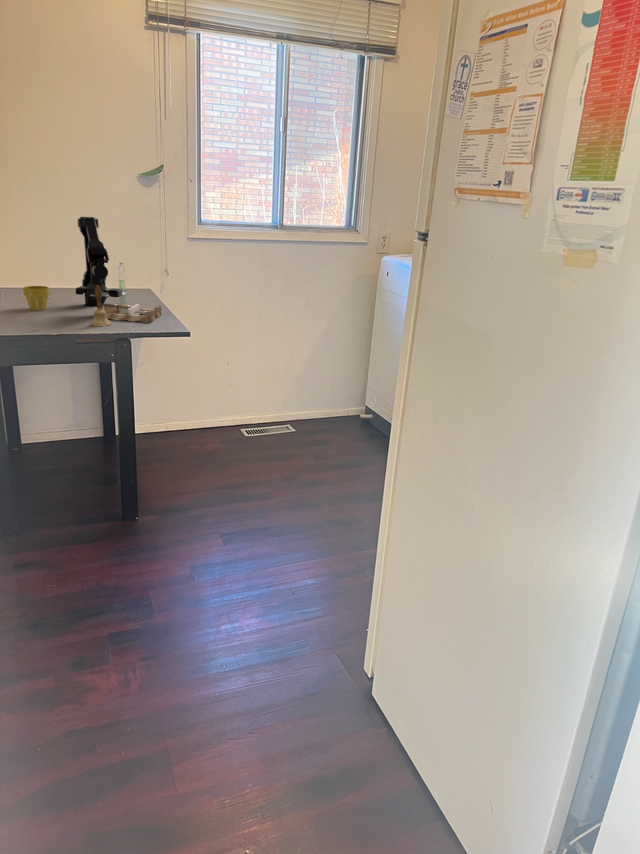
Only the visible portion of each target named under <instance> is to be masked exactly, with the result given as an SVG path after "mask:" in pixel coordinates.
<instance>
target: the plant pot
mask: <svg viewBox="0 0 640 854" xmlns="http://www.w3.org/2000/svg"><path fill="white" fill-rule="evenodd" d="M22 289H23V290H22V291H23V296H25V297H26V301H27V304H28V307H29V309H30V310H31V311H37V310H39V311H46V310H47V307H48V296H50V289H49V286H46V285H27V286H26V285H25V286H23V288H22Z"/></svg>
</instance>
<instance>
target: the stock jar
mask: <svg viewBox="0 0 640 854" xmlns="http://www.w3.org/2000/svg"><path fill="white" fill-rule="evenodd" d="M118 304H119V303H118ZM133 306H134V305H133V304H130V303H120V304H119V305H118V311H119V314H126V315H128V309H129V308H131V307H133Z"/></svg>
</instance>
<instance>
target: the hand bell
mask: <svg viewBox="0 0 640 854" xmlns="http://www.w3.org/2000/svg"><path fill="white" fill-rule="evenodd" d="M95 297H96V299H97V306H96V308H97V307H98V308H97V309H96V310H95V311H94V313H93V319H92V321H91V322H90V326H92V325H93V326H92V327H103V326H102V325H109V326H111V325H112V322H111V321H110V320H108V319H107V316H106V312H105V310H103V308H102V306H101V298H102V292H101V289H100V286H99V285H96V289H95ZM110 324H111V325H110Z"/></svg>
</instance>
